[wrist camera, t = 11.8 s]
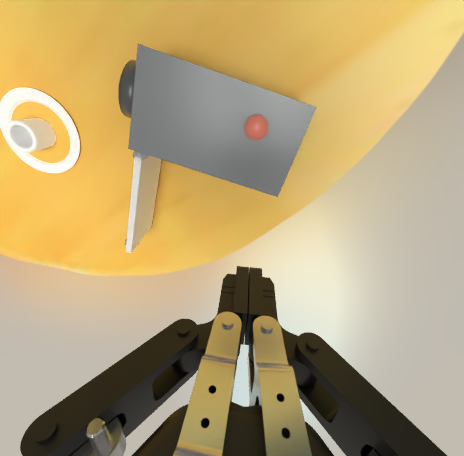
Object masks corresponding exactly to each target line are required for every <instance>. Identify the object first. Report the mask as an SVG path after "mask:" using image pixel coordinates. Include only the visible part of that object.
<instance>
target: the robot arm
mask: <svg viewBox="0 0 464 456" xmlns="http://www.w3.org/2000/svg"><path fill="white" fill-rule="evenodd" d="M244 336H245V345H249V354H248V375H249V394H250V404H249V407H243V406H240V405H238V404H235V403H233V402H232V394H233V387H234V380H235V372H236V366H237V359H238V356H239V353H240V345H241V344H243V343H244ZM197 370H198V373H197V376H196V380H195V383H194V387H193V390H192V394H191V398H190V401H189V404H188V405H185V406H183V407H181V408H179V409H178V410H176V411H175V412H174V413H173V414H171V415H170V416H169V417H168V418H167V419H166V420H165V421H164V422H163V423H162V425H161V426H160V427H159V428H158V429H157V430H156V431H155V432H154V433H153V434H152V435H151V436H150V437H149V438H148V439H147V440H146V441H145V442H144V443H143V444H142V445H141V446H140V448H139V449H138V450H137V451H136V452H135V453H134V454H133V455H132V456H334V455H333V454H332V452H331V451H330V450H329V448H328V447H327V446H326V444H325V443H324V441H323V440H322V439H321V437H320V436H319V435H318V433H317V432H316V431H315V430H314V429H313V428H312V427H311V426H310V425H309V424H308V423H307V422H305V421H304V416H303V412H302V407H301V402H300V399H301V400H302V401H303V402H304V404H305V405H306V406H307V407H308V408H309V410H310V411H311V412H312V414H313V415H314V416H315V417H316V418H317V420H318V421H319V422H320V424H321V425H322V426H323V427H324V429H325V430H326V431H327V432H328V434H329V435H330V436H331V437H332V439H333V440H334V441H335V442H336V444H337V445H338V446H339V447H340V448H341V450H342V451H343V452H344V453H345V455H346V456H447V455H446V454H445V453H444V452H443V451H442V450H440V449H439V448H438V447H437V446H436V445H435V444H434V443H433V442H432V441H431V440H430V439H429V438H428V437H427V436H426V435H424V434H423V433H422V432H421V431H420V430H419V429H418V428H417V427H416V426H415V425H414V424H413V423H412V422H411V421H409V420H408V419H407V418H406V417H405V416H404V415H403V414H402V413H401V412H400V411H399V410H398V409H397V408H396V407H395V406H393V405H392V404H391V403H390V402H389V401H388V400H387V399H386V398H385V397H384V396H383V395H382V394H381V393H379V392H378V391H377V390H376V389H375V388H374V387H373V386H372V385H371V384H370V383H369V382H368V381H367V380H366V379H365V378H364V377H362V376H361V375H360V374H359V373H358V372H357V371H356V370H355V369H354V368H353V367H352V366H351V365H349V364H348V363H347V362H346V361H345V360H344V359H343V358H342V357H341V356H340V355H339V354H338V353H337V352H336V351H335V350H334V349H333V348H331V347H330V346H329V345H328V344H327V343H326V342H325V341H324V340H323V339H322V338H321V337H319V336H318V335H316V334H313V333H303V334H301V335H300V336H297V335H294V334H292V333H290V332H288V331H286V330H284V329H283V328H282V327H281V325H280V324H279V322H278V319H277V310H276V301H275V291H274V284H273V282H272V281H271V279H270V278H265V277H262V269H260V268H251V267H250V269H249V267H240V266H237V273H236V275H234V274H227V275H226V277H225V278H224V279H223V284H222V290H221V296H220V302H219V308H218V313H217V315H216V317H215V318H214V319H213V320H212V321H210V322H208V323H205V324H200V325H197V324H196V323H195V322H194V321H192V320H190V319H180V320H177V321H176V322H174V323H173V324H171V325H170V326H168V327H167V328H165V329H164V330H163V331H161V332H160V333H158V334H157V335H155V336H154V337H152V338H151V339H150V340H148V341H147V342H145V343H144V344H142V345H141V346H140V347H138V348H137V349H135V350H134V351H132V352H131V353H130V354H128V355H127V356H125V357H124V358H122V359H121V360H119V361H118V362H117V363H115V364H114V365H112V366H111V367H109V368H108V369H107V370H105V371H104V372H102V373H101V374H100V375H98V376H96V377H95V378H94V379H92V380H91V381H89V382H88V383H87V384H85V385H84V386H82V387H81V388H79V389H78V390H76V391H75V392H74V393H72V394H71V395H70V396H68V397H66V398H65V399H63V400H62V401H61V402H59V403H58V404H56V405H55V406H53V407H52V408H51V409H49V410H48V411H46V412H45V413H44V414H42V415H41V416H39V417H38V418H37V419H36V420H35V421H34V422H33V423H32V424H31V425H30V426H29V427H28V429H27V430H26V432H25V434H24V436H23V438H22V441H21V447H20V449H21V453H22V455H23V456H123V454H124V451H125V448H126V439H125V438H126V437H127V436H128V435H129V434H130V433H131V432H132V431H133V430H135V429H136V428H137V427H138V426H139V425H140V424H141V423H142V422H143V421H144V420H145V419H147V417H149V416H150V415H151V414H152V413H153V412H154V411H155V410H156V409H157V408H158V407H159V406H161V405H162V404H163V403H164V402H165V401H166V400H167V399H168V398H169V397H170V396H171V395H172V394H174V393H175V392H176V391H177V390H178V389H179V388H180V387H181V386H182V385H183V384H184V383H185V382H186V381H188V380H189V378H191V377H192V376H193V375H194V374H195V373H196V371H197Z"/></svg>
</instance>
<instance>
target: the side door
mask: <svg viewBox="0 0 464 456" xmlns="http://www.w3.org/2000/svg"><path fill="white" fill-rule="evenodd" d="M133 157H134V170H133V180H132V191H131V201H130V212H129V222H128V233H127V239H126V240H125V245H126V252H130V253H132V251H133V250H134V249H135V247H136V246H137V245H138V244H139V242H140V241H141V240H142V238H143V237H144V236H145V235H146V233H147V232H148V231H149V229H150V228H151V227H152V221H153V214H154V208H155V201H156V194H157V188H158V181H159V175H160V168H161V161H162V159H159V158H156V157H153V156H150V155H147V154H143V153H140V152H137V151H135V152H134V154H133Z"/></svg>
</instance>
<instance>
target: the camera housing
mask: <svg viewBox="0 0 464 456" xmlns="http://www.w3.org/2000/svg"><path fill="white" fill-rule="evenodd" d="M119 104H120V108H121V111H122V113H123V114H124V115H125V116H126V117H129V118H131V126H130V137H129V148H128V149H131V150H134V151H137V152H140V153H143V154H147V155H150V156H153V157H156V158H159V159H162V160H165V161H168V162H171V163H174V164H177V165H181V166H184V167H187V168H190V169H193V170H196V171H199V172H202V173H205V174H208V175H211V176H214V177H218V178H221V179H224V180H227V181H230V182H233V183H236V184H239V185H242V186H245V187H248V188H251V189H255V190H258V191H261V192H264V193H267V194H270V195H273V196H276V197H278V195H279V193H280V191H281V188H282V186H283V184H284V181H285V179H286V177H287V174H288V172H289V170H290V167H291V165H292V163H293V160H294V158H295V156H296V153H297V151H298V149H299V146H300V144H301V142H302V139H303V137H304V135H305V132H306V130H307V128H308V125H309V123H310V121H311V118H312V116H313V114H314V111H315V109H316V107H314V106H312V105H309V104H306V103H303V102H300V101H298V100H295V99H292V98H289V97H286V96H283V95H281V94H278V93H275V92H272V91H269V90H267V89H264V88H261V87H258V86H255V85H253V84H250V83H247V82H244V81H241V80H239V79H236V78H233V77H230V76H227V75H224V74H222V73H219V72H216V71H213V70H210V69H208V68H205V67H202V66H199V65H196V64H194V63H191V62H188V61H185V60H182V59H179V58H177V57H174V56H171V55H168V54H165V53H163V52H160V51H157V50H154V49H151V48H149V47H146V46H143V45H140V44H138V48H137V59H136V61H135V60H130V61H129V62H128V63H127V64H126V65H125V67H124V69H123V71H122V74H121V78H120V82H119Z"/></svg>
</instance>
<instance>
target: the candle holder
mask: <svg viewBox="0 0 464 456" xmlns="http://www.w3.org/2000/svg"><path fill="white" fill-rule="evenodd" d="M27 101H33V102H38V103H41V104H43V105H45V106H47V107H48V108H50V109H51V110H52V111H54V112H55V113H56V114H57V115H58V116H59V117H60V119H61V120H62V121H63V123H64V124H65V126H66V128H67V130H68V133H69V136H70V151H69V154H68V155H67V157H66V158H65V159H64V160H62V161H61V162H58V163H46V162H43V161H40V160H38V159H36V158H34V157H33V156H31V155H30V154H29V153H28V152H34V151H37V150H41V149H45V148H49V147H52V146H53V145H54V144H55V142H56V133H55V131H54V129H53V127H52V126H51V125H50V124H49V123H48V122H47V121H45V120H43V119H40V118H30V119H21V120H13V121H12V114H13V111H14V109H15V108H16V107H17V106H18V105H19V104H21V103H23V102H27ZM0 128H1V131H2V133H3V135H4V137H5V139H6V141H7V143H8V144H9V146H10V147H11V148H12V150H13V151H14V152H15V153H16V154H17V155H18V157H19V158H20V159H21V160H22V161H24V162H25V163H27V164H28V165H30V166H32V167H33V168H35V169H37V170H40V171H43V172H47V173H62V172H65V171H67V170H69V169H70V168H72V167H73V166H74V164H75V163H76V161H77V159H78V157H79V153H80V140H79V135H78V132H77V129H76V127H75V125H74V123H73V121H72V119H71V117H70V116H69V114H68V113H67V112H66V111H65V109H64V108H63V107H62V106H61V105H60V104H59V103H58V102H57V101H56V100H54V99H53V98H52V97H50V96H49V95H47V94H45V93H43V92H41V91H39V90H36V89H33V88H27V87H20V88H15V89H12V90H10V91H9V92H7V93H6V94H5V95H4V97H3V98H2V100H1V102H0Z"/></svg>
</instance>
